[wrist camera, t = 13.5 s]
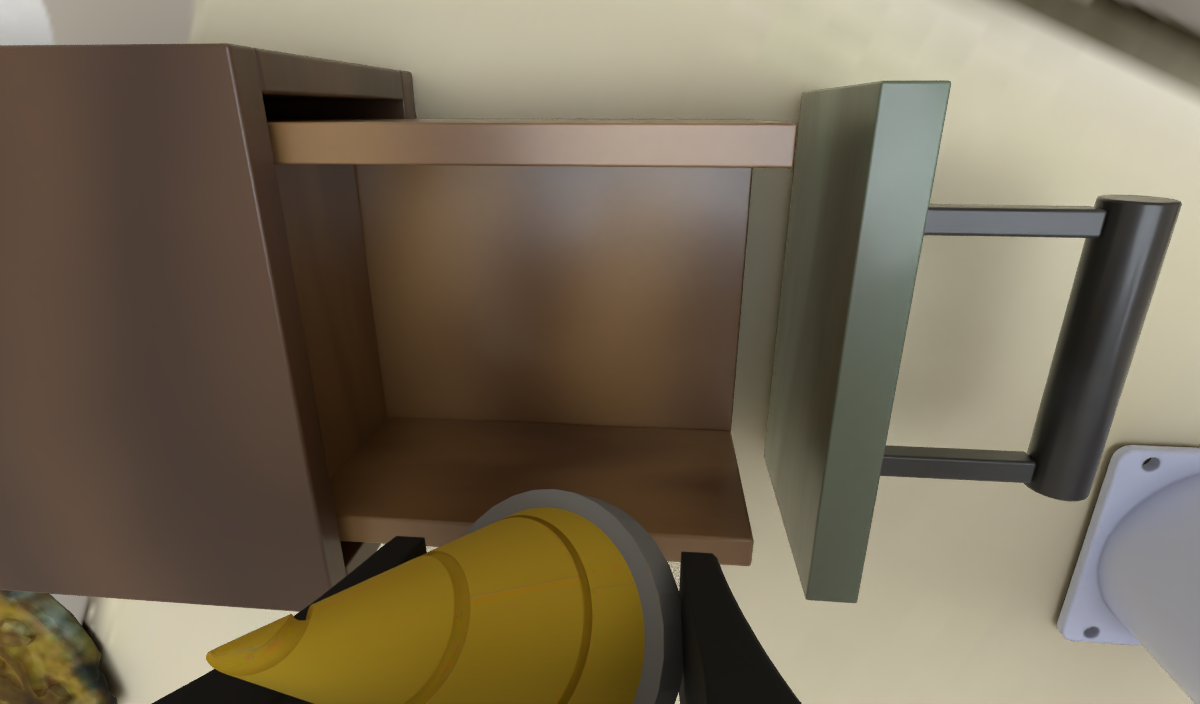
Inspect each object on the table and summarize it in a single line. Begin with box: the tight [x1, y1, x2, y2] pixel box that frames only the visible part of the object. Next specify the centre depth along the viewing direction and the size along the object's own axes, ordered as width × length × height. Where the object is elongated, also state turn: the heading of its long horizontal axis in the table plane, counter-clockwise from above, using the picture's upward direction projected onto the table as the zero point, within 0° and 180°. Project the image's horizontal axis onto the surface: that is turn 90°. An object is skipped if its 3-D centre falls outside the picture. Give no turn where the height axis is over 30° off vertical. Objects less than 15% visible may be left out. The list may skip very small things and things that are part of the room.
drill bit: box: [206, 489, 683, 704], centre depth 11 cm, size 5×5×10 cm
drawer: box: [267, 81, 1182, 603], centre depth 17 cm, size 20×11×7 cm, turn 90°
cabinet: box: [0, 44, 415, 612], centre depth 18 cm, size 16×13×9 cm
